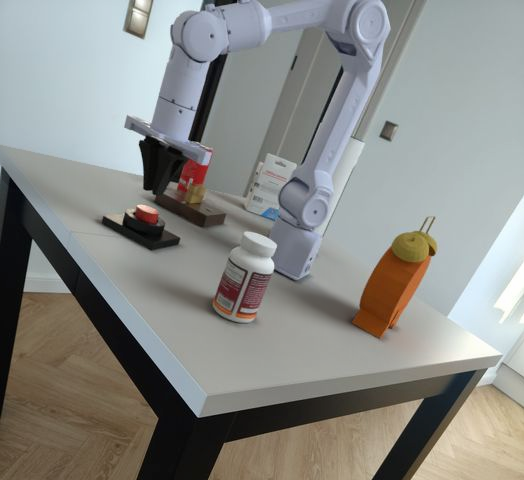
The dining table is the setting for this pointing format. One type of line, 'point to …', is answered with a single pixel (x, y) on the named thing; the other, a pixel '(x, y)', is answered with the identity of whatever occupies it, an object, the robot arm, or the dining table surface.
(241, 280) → the pill bottle
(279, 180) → the ink box
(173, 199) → the plate
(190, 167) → the beverage can
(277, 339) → the dining table surface
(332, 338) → the dining table surface
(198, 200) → the lock knob
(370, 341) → the dining table surface
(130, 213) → the box
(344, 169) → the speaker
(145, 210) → the bell button
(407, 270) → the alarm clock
